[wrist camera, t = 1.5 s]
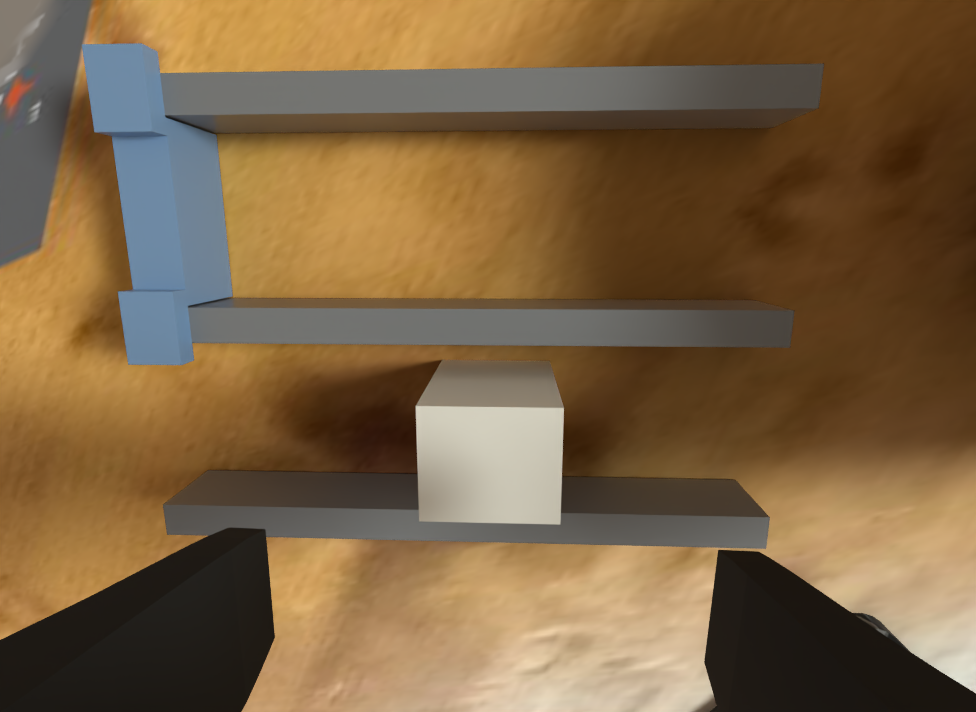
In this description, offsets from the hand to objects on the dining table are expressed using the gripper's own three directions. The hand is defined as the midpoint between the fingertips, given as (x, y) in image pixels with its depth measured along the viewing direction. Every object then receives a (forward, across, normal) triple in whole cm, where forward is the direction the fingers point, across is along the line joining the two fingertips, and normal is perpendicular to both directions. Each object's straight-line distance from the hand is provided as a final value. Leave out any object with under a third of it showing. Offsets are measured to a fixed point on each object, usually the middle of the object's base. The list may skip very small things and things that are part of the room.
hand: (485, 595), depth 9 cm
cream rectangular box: (+10, 0, 0) cm, 10 cm away
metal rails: (+10, +1, -3) cm, 10 cm away
